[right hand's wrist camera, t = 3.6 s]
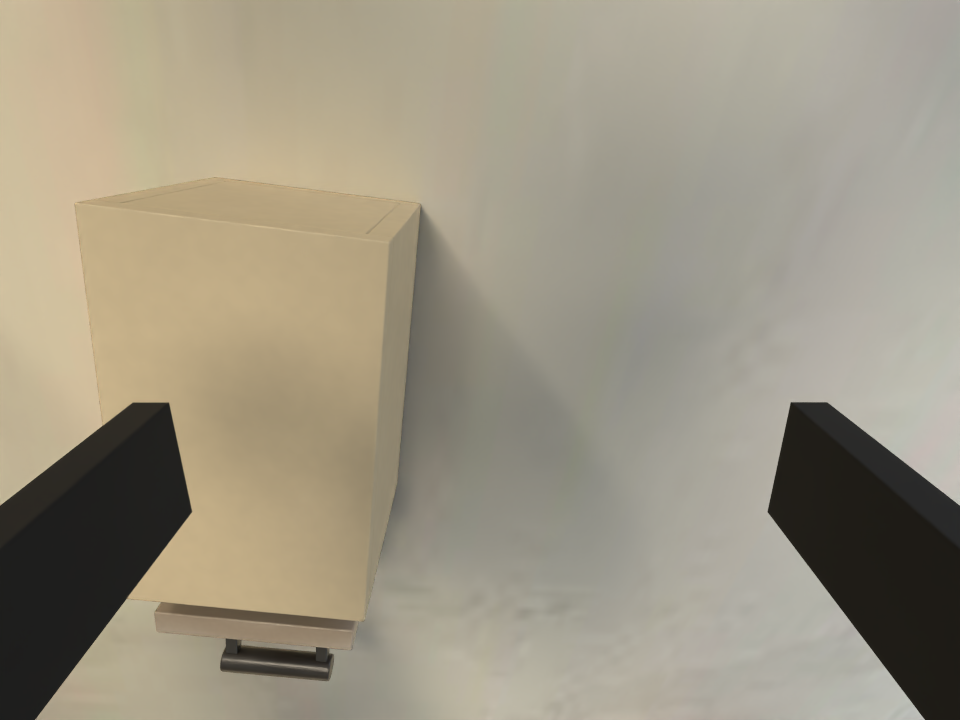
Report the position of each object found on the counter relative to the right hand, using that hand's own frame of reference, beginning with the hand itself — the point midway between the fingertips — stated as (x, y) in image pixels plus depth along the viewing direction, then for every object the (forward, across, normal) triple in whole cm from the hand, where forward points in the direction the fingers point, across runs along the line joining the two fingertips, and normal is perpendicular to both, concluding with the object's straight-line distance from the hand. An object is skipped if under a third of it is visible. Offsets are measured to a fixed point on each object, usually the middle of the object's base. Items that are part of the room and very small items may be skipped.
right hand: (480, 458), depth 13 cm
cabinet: (+19, -9, -4) cm, 21 cm away
